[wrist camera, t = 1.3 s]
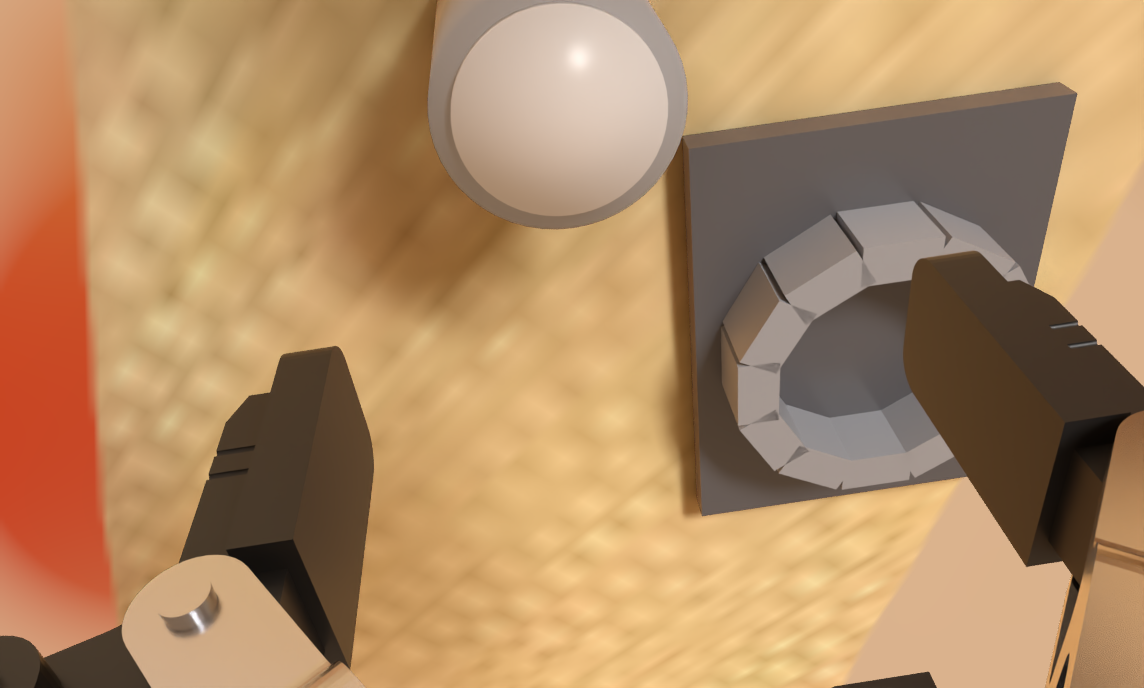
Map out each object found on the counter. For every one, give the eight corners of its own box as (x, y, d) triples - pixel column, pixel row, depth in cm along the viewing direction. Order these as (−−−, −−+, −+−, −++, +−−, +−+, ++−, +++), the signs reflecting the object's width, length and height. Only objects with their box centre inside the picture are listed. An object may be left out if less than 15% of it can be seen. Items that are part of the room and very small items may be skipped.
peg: (416, -72, 24) (400, 0, 18) (631, -102, 24) (685, -39, 18) (456, 133, 27) (454, 251, 21) (645, 106, 28) (694, 216, 22)
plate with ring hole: (682, 136, 28) (706, 182, 25) (1059, 82, 28) (1124, 122, 26) (697, 498, 37) (715, 561, 35) (980, 456, 38) (1021, 515, 35)
